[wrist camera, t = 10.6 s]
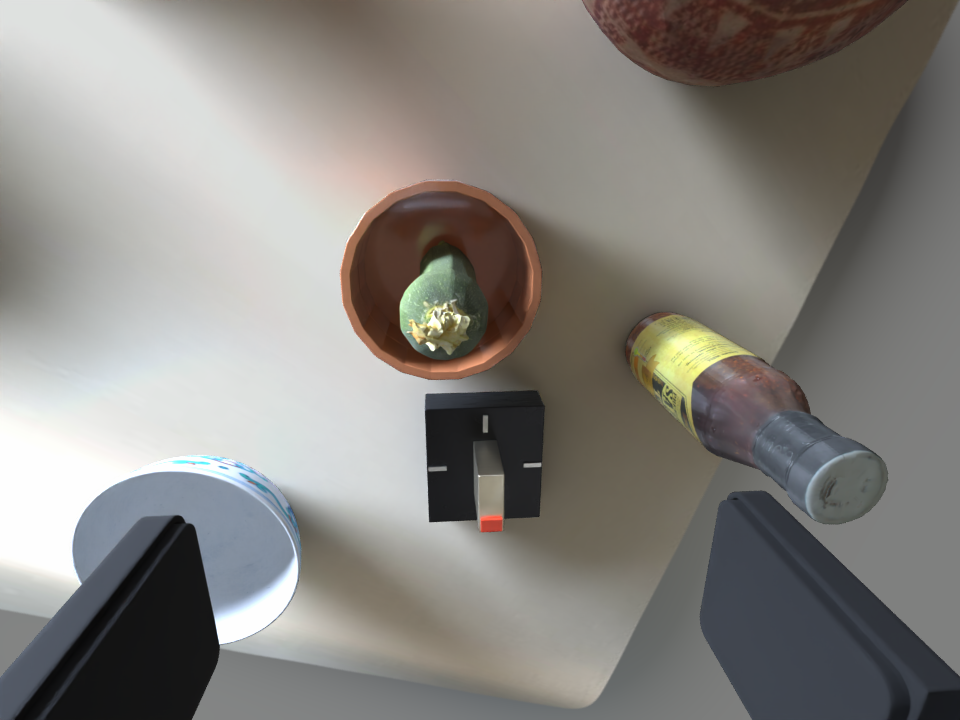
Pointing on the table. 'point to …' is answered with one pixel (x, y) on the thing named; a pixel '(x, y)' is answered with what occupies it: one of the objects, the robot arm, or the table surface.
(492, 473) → the hob knob
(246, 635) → the chinaware
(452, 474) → the panel
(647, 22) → the jug
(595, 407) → the table surface
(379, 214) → the terracotta pot
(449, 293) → the vegetable
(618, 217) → the table surface
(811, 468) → the sauce bottle
